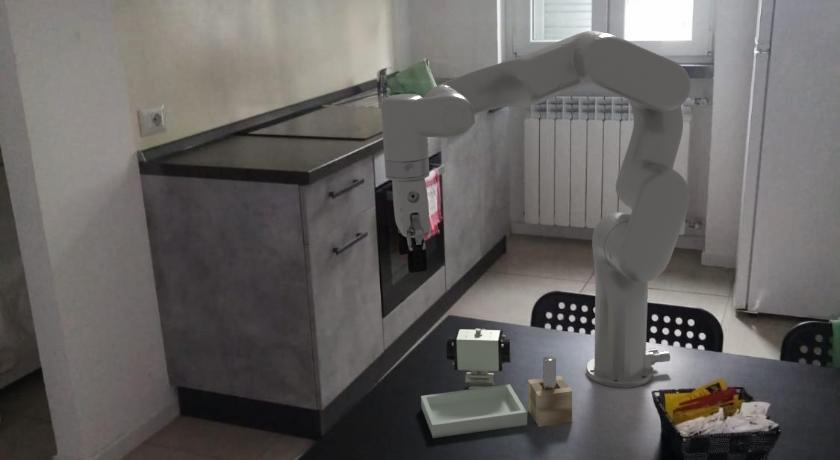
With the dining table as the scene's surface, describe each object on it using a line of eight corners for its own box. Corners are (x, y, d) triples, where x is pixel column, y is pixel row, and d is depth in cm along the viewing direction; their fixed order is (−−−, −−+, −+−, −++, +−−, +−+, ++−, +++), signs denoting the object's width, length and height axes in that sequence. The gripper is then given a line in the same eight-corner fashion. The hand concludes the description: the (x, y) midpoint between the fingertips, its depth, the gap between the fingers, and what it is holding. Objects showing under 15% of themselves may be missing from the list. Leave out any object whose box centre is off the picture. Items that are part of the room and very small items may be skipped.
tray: (510, 396, 160) (509, 384, 159) (527, 424, 150) (526, 412, 149) (421, 408, 157) (420, 395, 156) (433, 438, 147) (432, 425, 146)
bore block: (560, 405, 155) (560, 375, 153) (572, 422, 150) (572, 391, 148) (528, 410, 154) (527, 379, 153) (538, 427, 149) (538, 395, 147)
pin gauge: (553, 412, 153) (553, 355, 150) (557, 418, 151) (557, 361, 148) (541, 414, 153) (541, 357, 150) (545, 420, 151) (545, 362, 147)
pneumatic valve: (510, 394, 160) (509, 335, 157) (447, 392, 162) (445, 333, 159) (512, 380, 165) (511, 323, 162) (451, 378, 167) (449, 321, 164)
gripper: (438, 177, 140) (443, 276, 145) (419, 155, 156) (424, 245, 161) (393, 181, 139) (399, 281, 144) (378, 159, 155) (384, 249, 160)
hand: (412, 262), depth 153 cm, fingers open, 9 cm apart
